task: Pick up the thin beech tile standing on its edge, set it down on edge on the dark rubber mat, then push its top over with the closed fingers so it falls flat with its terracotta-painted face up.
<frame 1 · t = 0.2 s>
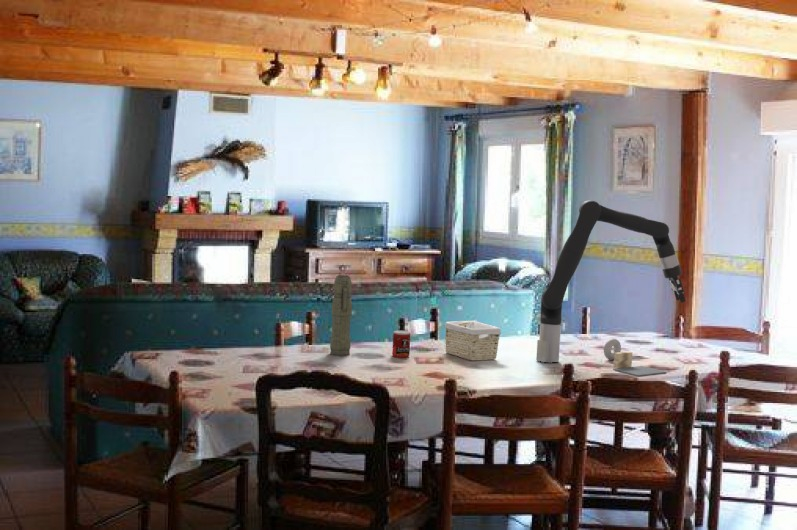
hand: (681, 300, 436), 31 cm above the table, tool tilted 20°, fingers open, 8 cm apart
grey-green tall rounded block: (340, 354, 438), on the table
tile: (622, 368, 437), on the table
storage basket: (470, 356, 449), on the table
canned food: (400, 356, 440), on the table
mat: (639, 371, 431), on the table
donut: (611, 360, 456), on the table
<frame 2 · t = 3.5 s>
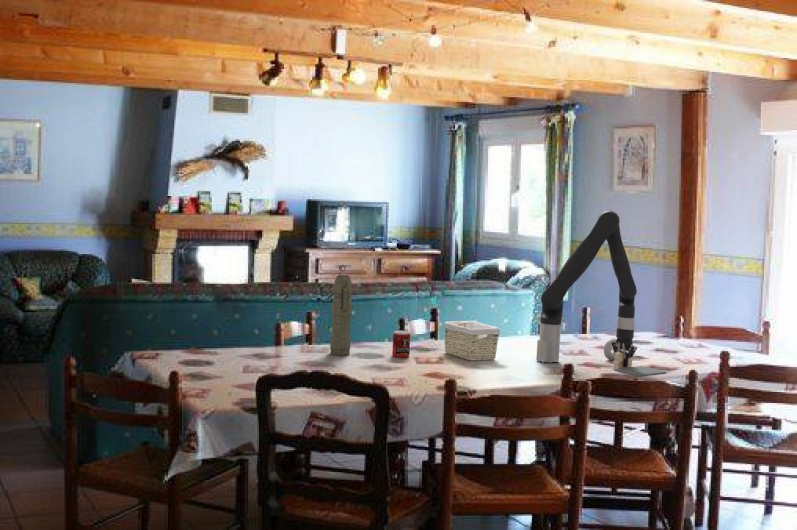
hand: (622, 366, 437), 1 cm above the table, tool pointing down, fingers closed on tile, 2 cm apart
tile: (622, 368, 437), on the table, touching gripper
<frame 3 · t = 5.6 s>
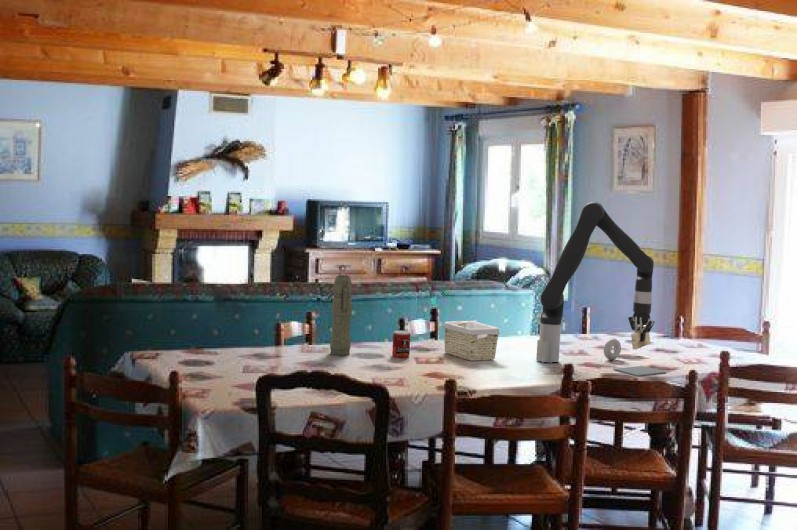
hand: (639, 340, 431), 13 cm above the table, tool pointing down, fingers closed on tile
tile: (641, 346, 432), point 11 cm above the table, tilted 14°, touching gripper
everything else where it was.
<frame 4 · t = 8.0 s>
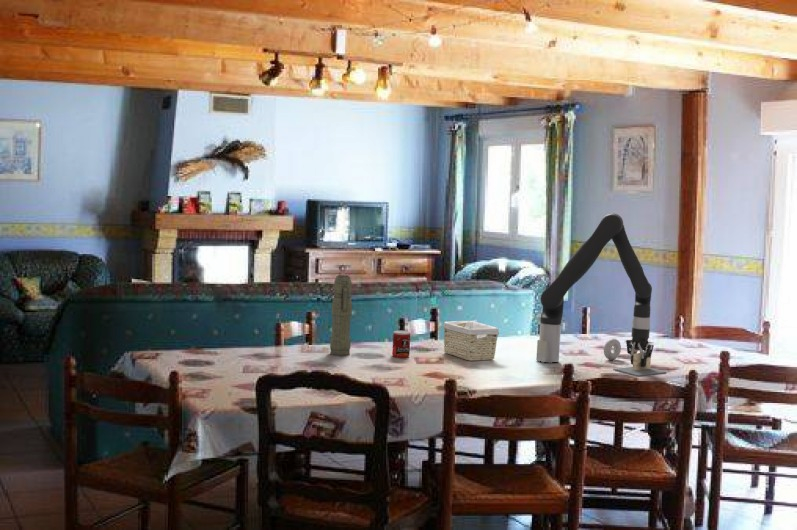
hand: (638, 365, 433), 2 cm above the table, tool pointing down, fingers open, 5 cm apart
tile: (641, 369, 433), point 1 cm above the table, touching mat
everything else where it was.
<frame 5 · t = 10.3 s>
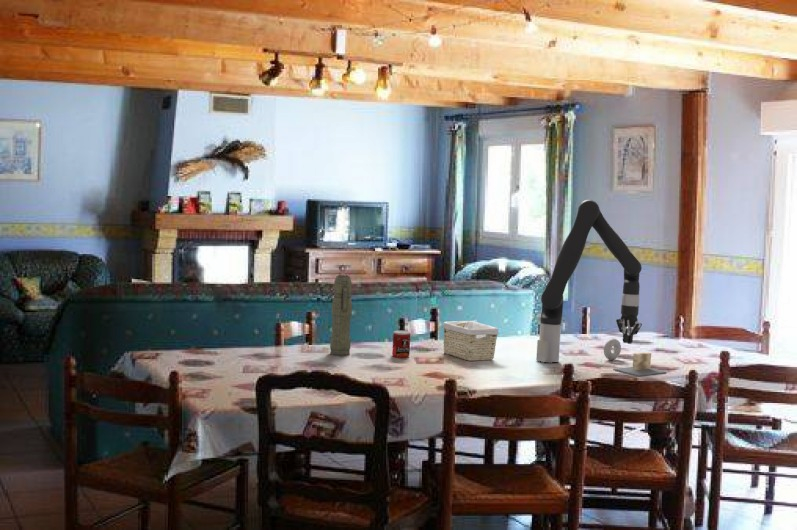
hand: (627, 343, 437), 11 cm above the table, tool pointing down, fingers closed
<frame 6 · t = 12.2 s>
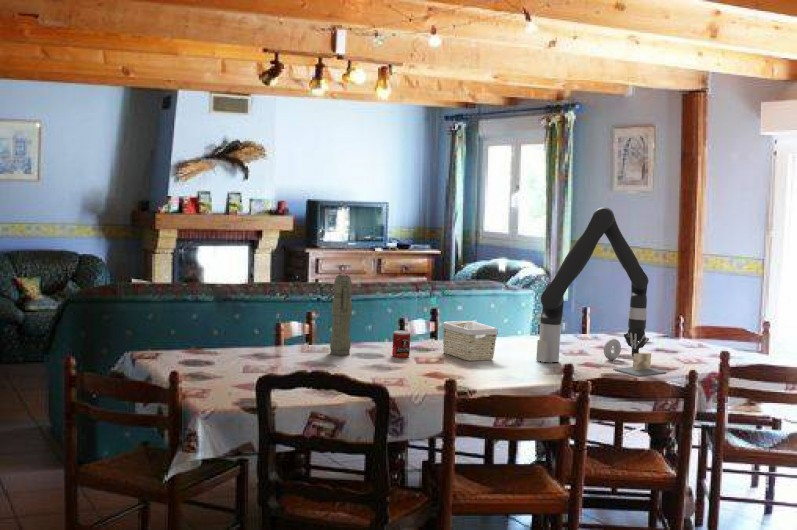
hand: (634, 356, 434), 6 cm above the table, tool pointing down, fingers closed
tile: (641, 369, 433), point 1 cm above the table, touching gripper, mat
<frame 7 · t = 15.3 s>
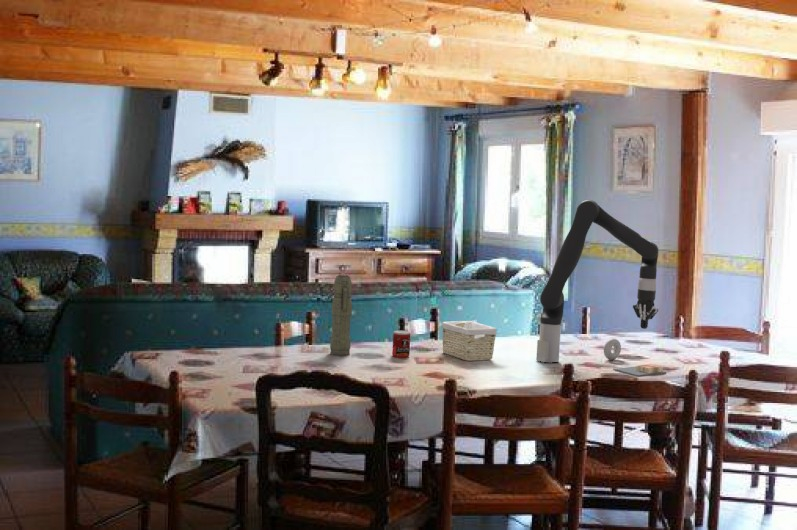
hand: (643, 328, 430), 19 cm above the table, tool pointing down, fingers closed
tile: (643, 367, 432), point 2 cm above the table, tilted 90°, touching mat
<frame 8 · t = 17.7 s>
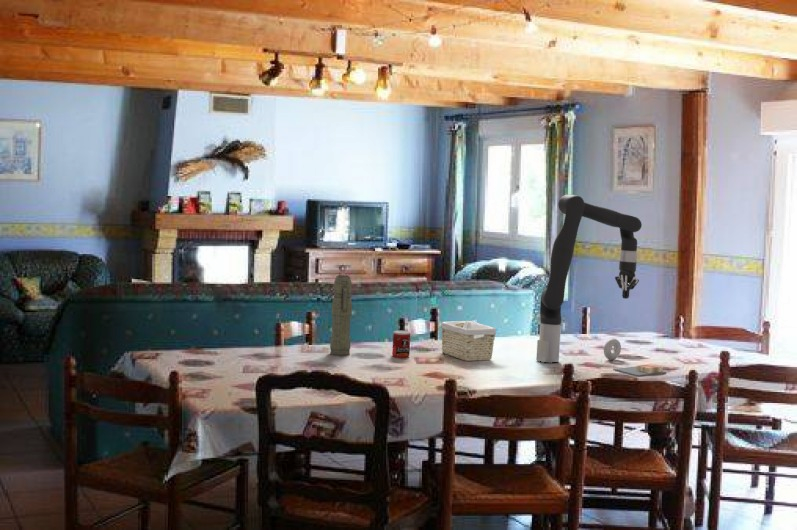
hand: (625, 298, 451), 29 cm above the table, tool pointing down, fingers closed
at the end: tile tilted 90°; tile inside the target area (2.9 cm from its centre), point 1.6 cm above the table; the gripper is holding nothing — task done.
